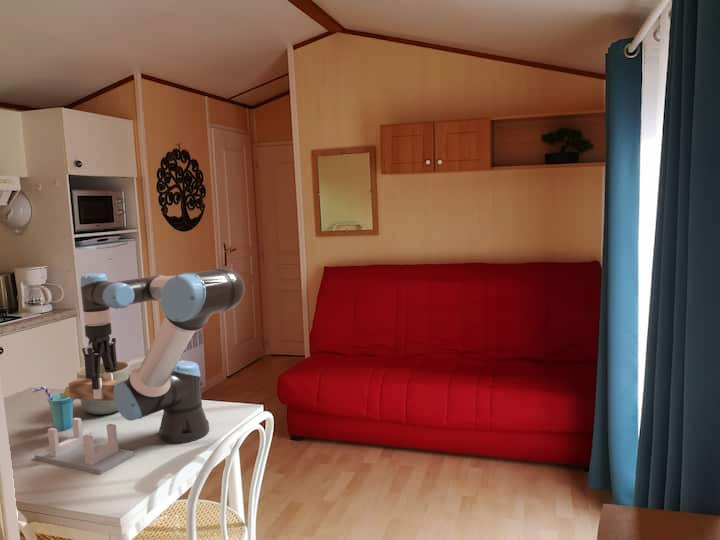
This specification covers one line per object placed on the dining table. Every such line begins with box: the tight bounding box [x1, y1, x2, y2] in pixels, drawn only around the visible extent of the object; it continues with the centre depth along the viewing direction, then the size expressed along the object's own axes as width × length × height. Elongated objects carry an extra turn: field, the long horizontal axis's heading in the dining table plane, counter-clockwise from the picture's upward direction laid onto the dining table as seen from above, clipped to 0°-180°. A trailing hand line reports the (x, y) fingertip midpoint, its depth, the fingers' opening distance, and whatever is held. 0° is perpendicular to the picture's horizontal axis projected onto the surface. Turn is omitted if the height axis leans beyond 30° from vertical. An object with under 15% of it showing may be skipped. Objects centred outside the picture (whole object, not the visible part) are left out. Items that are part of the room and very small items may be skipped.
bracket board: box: [34, 417, 135, 475], centre depth 168 cm, size 26×12×9 cm, turn 66°
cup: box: [31, 385, 76, 432], centre depth 190 cm, size 14×8×15 cm, turn 120°
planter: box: [76, 360, 131, 416], centre depth 206 cm, size 17×17×15 cm
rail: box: [68, 378, 124, 401], centre depth 184 cm, size 20×5×5 cm, turn 79°
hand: (104, 395), depth 184 cm, fingers closed on rail, 5 cm apart
